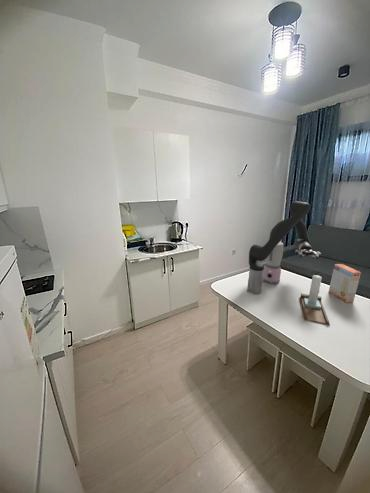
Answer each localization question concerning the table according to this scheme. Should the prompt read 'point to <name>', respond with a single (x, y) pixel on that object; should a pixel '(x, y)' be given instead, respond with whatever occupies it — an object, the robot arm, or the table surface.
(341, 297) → the cracker box
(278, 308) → the table surface
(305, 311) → the rail board
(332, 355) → the table surface
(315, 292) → the keeper
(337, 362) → the table surface
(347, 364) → the table surface
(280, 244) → the blender
